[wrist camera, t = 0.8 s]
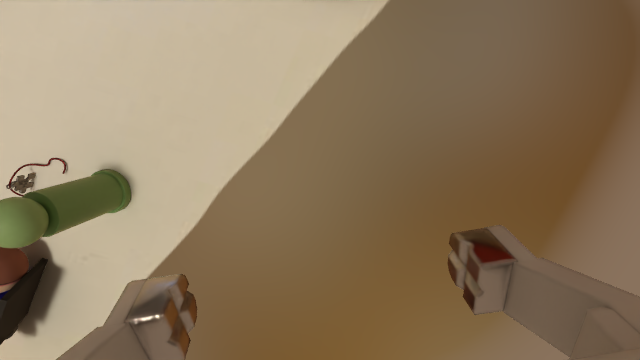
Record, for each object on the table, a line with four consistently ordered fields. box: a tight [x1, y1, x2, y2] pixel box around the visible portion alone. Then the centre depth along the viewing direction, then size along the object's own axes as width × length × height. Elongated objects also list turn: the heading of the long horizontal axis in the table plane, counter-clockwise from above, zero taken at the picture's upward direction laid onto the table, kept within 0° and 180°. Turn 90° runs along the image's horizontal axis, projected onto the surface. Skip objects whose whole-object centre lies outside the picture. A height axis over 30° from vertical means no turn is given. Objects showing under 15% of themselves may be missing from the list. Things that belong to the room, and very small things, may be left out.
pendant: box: [6, 158, 66, 196], centre depth 36 cm, size 8×4×3 cm, turn 153°
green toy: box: [0, 169, 131, 248], centre depth 30 cm, size 5×5×12 cm
